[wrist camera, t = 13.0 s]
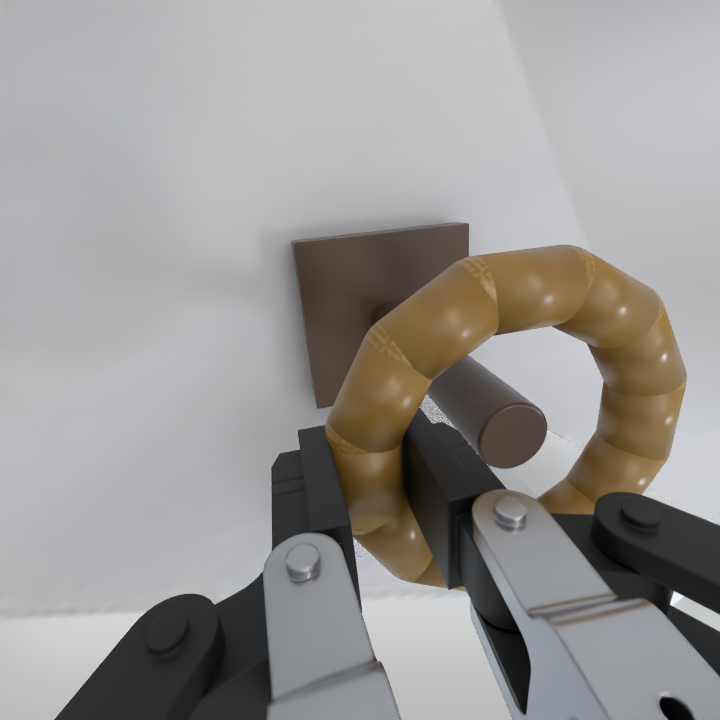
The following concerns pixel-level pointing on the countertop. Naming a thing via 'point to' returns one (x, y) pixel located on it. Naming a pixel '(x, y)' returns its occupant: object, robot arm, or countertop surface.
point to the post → (379, 297)
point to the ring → (464, 334)
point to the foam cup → (553, 468)
